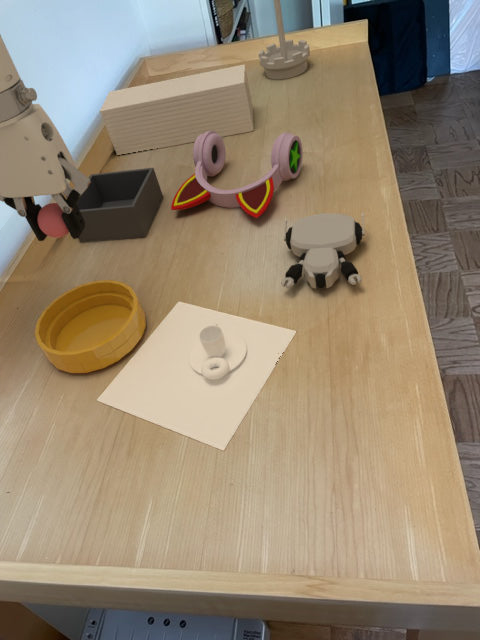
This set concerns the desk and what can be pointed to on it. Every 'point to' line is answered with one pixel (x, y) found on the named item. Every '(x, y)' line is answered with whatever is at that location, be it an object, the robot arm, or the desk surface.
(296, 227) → the robot toy
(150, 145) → the stack of papers
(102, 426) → the desk surface
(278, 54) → the flag stand
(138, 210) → the bin
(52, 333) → the bowl
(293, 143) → the headphones
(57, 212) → the toy ball
